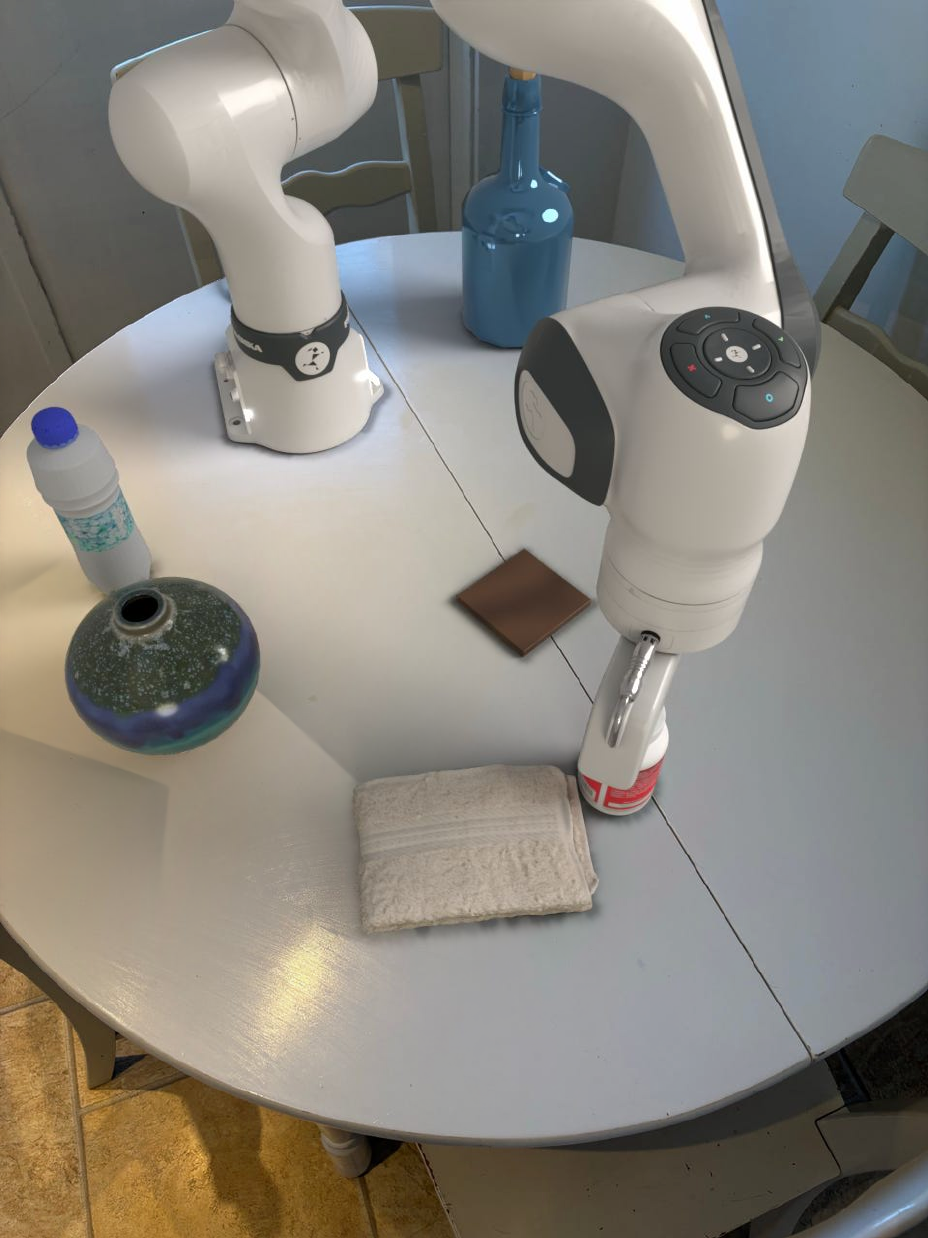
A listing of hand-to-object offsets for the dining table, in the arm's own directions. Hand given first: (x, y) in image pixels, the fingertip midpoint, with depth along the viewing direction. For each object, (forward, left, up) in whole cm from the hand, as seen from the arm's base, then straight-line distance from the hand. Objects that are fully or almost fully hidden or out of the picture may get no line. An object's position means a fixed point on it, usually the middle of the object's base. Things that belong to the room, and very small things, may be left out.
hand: (637, 704), depth 64 cm
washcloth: (0, -13, -12) cm, 18 cm away
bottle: (-41, -30, -12) cm, 52 cm away
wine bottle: (-61, +25, -12) cm, 67 cm away
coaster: (-20, +3, -11) cm, 23 cm away
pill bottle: (0, 0, -12) cm, 12 cm away
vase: (-24, -29, -12) cm, 40 cm away
